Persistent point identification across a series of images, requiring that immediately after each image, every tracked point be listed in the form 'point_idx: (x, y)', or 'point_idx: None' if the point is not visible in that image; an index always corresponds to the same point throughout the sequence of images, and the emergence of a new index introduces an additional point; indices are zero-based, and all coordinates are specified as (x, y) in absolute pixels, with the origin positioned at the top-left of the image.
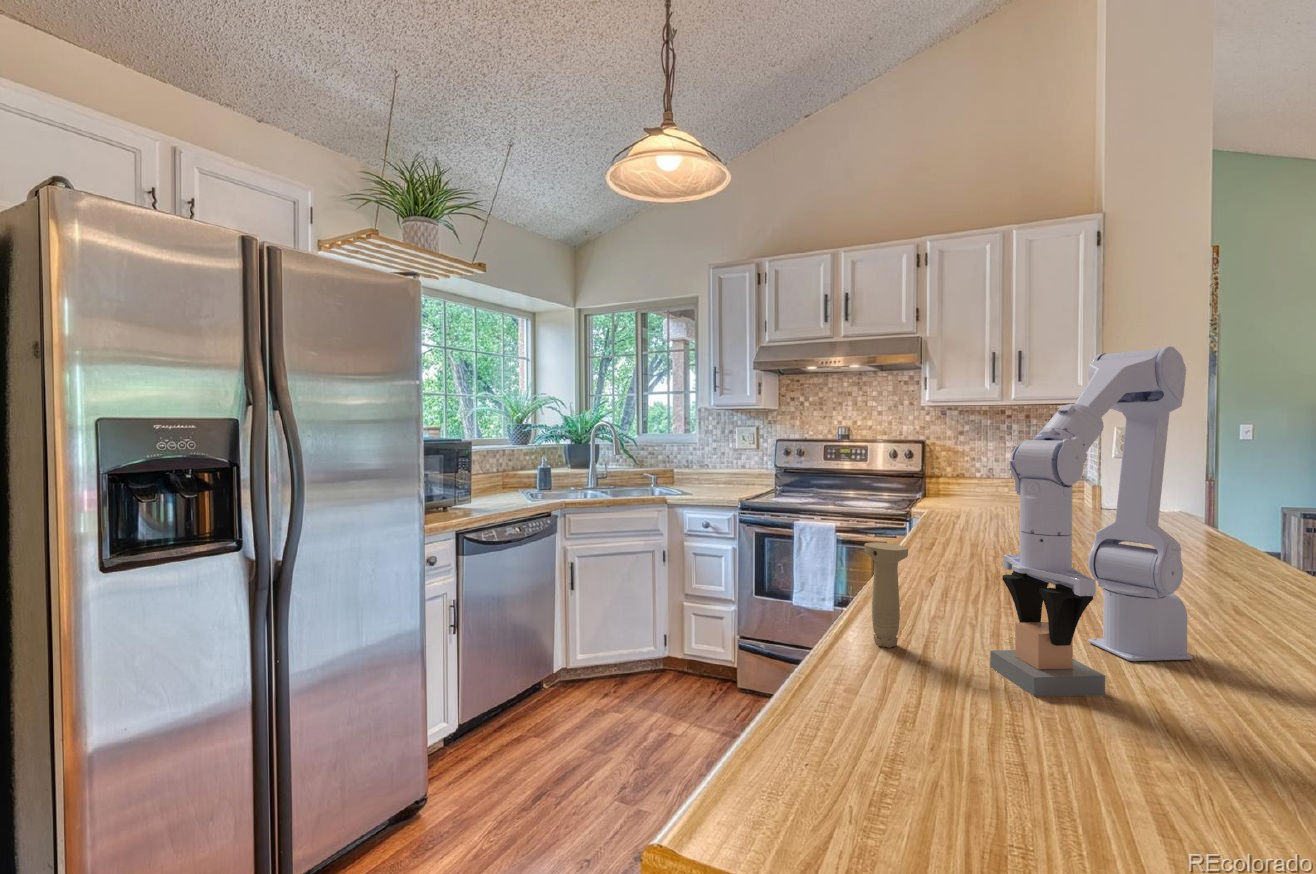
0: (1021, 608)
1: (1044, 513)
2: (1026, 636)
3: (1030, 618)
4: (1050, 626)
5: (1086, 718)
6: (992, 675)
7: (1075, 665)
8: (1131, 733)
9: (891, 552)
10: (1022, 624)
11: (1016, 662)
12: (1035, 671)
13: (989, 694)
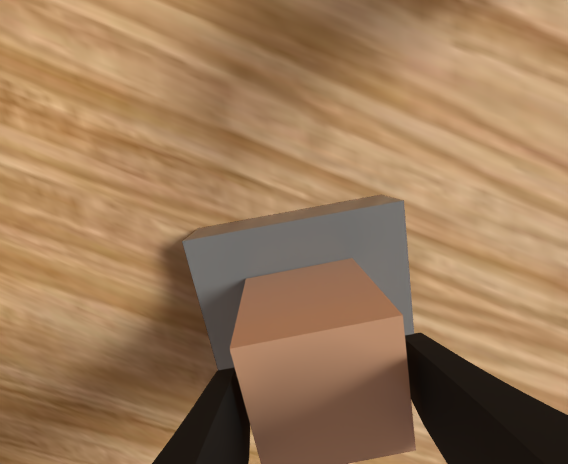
0: (471, 407)
1: None
2: (309, 310)
3: (433, 400)
4: (196, 427)
5: (99, 290)
6: (326, 178)
7: None
8: (48, 341)
9: None
10: (374, 336)
11: (299, 239)
12: (232, 264)
13: (189, 114)
